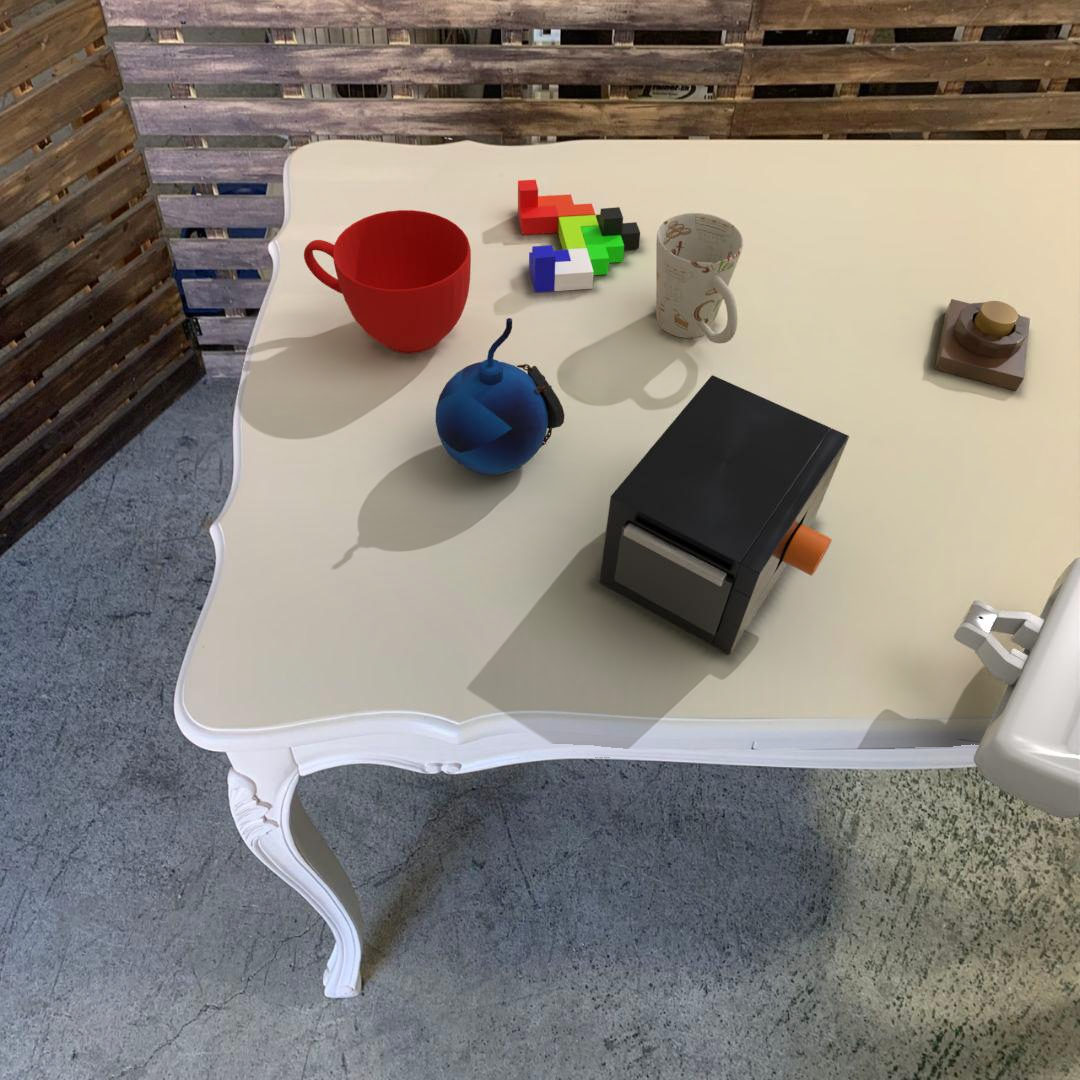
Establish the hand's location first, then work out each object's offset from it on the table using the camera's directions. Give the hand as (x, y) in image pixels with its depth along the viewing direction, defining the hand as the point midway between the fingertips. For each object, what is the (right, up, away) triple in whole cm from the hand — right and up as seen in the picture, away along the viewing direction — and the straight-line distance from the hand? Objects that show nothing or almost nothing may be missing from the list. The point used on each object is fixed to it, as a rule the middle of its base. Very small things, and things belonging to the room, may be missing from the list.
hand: (963, 618), depth 65 cm
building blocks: (-26, +39, +37) cm, 60 cm away
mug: (-14, +27, +29) cm, 42 cm away
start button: (+15, +27, +26) cm, 40 cm away
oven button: (-10, +4, +5) cm, 12 cm away
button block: (+15, +25, +28) cm, 41 cm away
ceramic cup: (-46, +27, +28) cm, 60 cm away
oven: (-16, +5, +11) cm, 20 cm away
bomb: (-34, +13, +18) cm, 41 cm away
